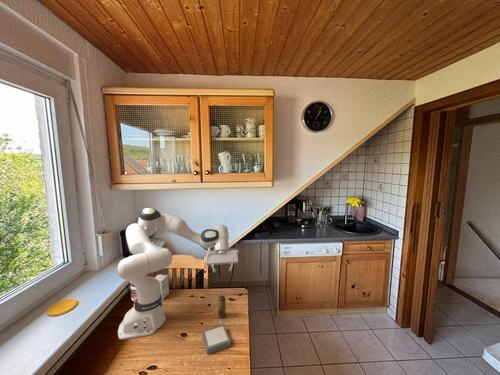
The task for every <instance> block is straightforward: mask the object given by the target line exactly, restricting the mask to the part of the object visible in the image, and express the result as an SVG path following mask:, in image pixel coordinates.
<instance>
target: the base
mask: <svg viewBox="0 0 500 375" xmlns="http://www.w3.org/2000/svg"><path fill="white" fill-rule="evenodd" d="M201 333H202V339H203V343H204V347H205V351H206V355H211V354H213V353H215V352H219V351H220V350H224V349H227V348H230V347H231V346H232V342H231V338H230V336H229V334H228V331H227V329H226V325H225V324H222V325H218V326H215V327H213V328H209V329H206V330H203V331H202V332H201Z"/></svg>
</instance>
